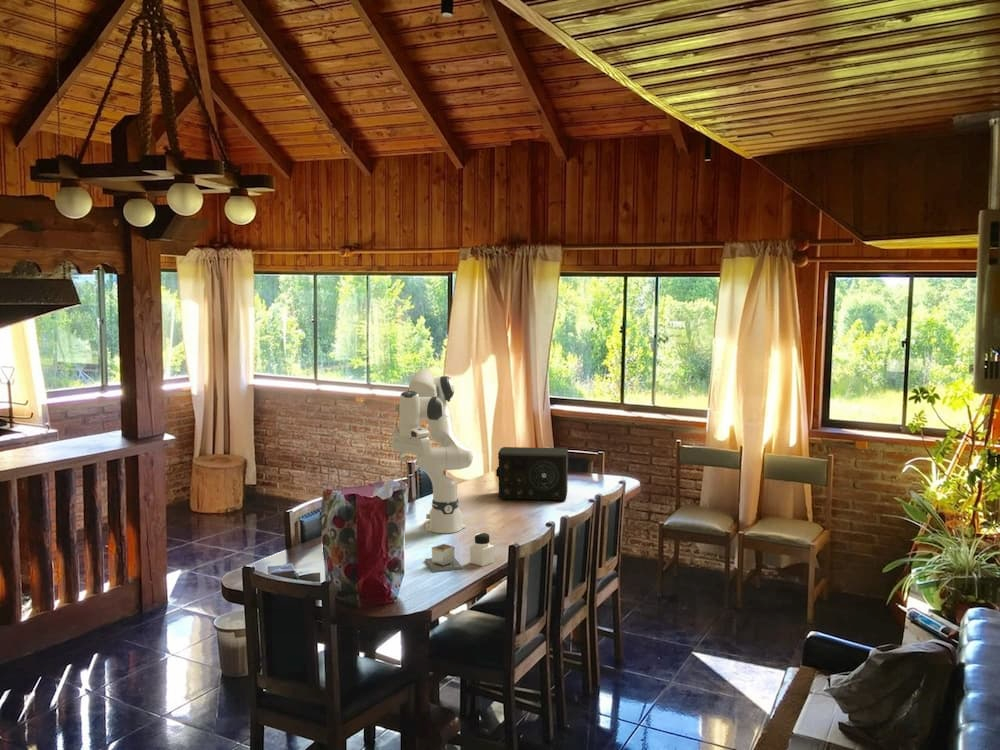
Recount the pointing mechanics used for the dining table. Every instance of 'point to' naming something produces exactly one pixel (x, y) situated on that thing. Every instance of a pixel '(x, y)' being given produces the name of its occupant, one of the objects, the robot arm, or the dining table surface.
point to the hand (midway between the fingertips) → (410, 463)
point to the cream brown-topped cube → (443, 554)
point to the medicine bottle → (482, 550)
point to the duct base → (438, 567)
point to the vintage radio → (533, 473)
